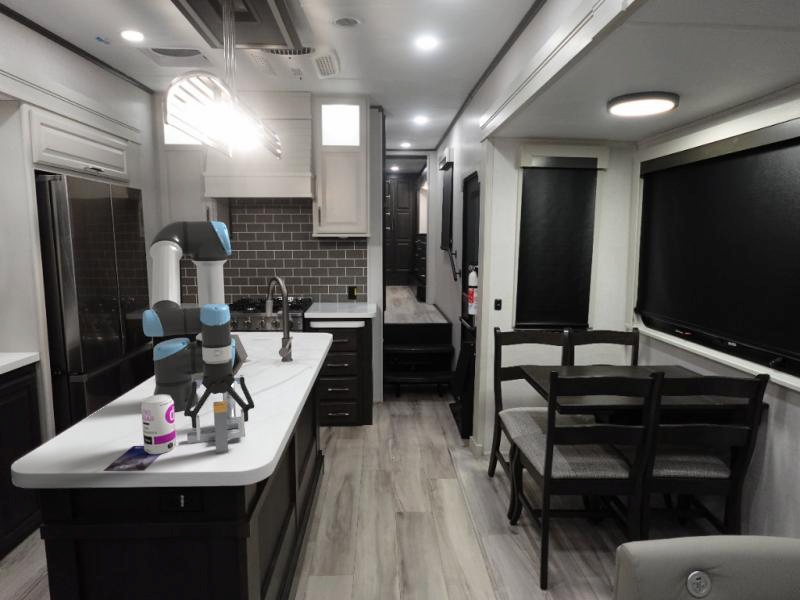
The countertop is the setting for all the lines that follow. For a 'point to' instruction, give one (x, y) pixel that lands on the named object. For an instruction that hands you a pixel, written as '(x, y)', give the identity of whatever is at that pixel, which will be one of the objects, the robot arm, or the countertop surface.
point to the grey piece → (231, 423)
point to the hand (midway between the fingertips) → (221, 435)
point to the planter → (238, 355)
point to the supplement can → (158, 424)
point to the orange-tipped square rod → (220, 427)
